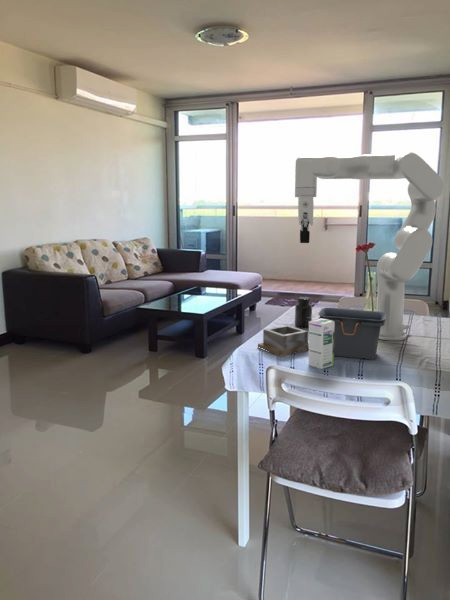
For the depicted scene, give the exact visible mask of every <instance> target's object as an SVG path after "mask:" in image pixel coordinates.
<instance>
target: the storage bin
mask: <svg viewBox="0 0 450 600" xmlns="http://www.w3.org/2000/svg"><path fill="white" fill-rule="evenodd" d="M317 315H318V316H319V317H318V319H321V318H322V319H329V320H332V321H334V322H335V327H334V357H341V358H343V357H345V358H352V359H361V358H366V359H365V360H369V359H373V360H375V359H376V357H377V356H376V355H377V351H378V345H379V340H380V339H379V334H380V328H381V326H383V325H384V323H385V319H386V313H384V312H377V310H363V309H353V308H352V309H350V308H337V307H323V308H321V310H319V312H318V314H317Z"/></svg>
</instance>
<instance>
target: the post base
mask: <svg viewBox="0 0 450 600" xmlns="http://www.w3.org/2000/svg"><path fill="white" fill-rule="evenodd" d="M262 331H263V336H262V337H263V338H262V340H263V342H260V343H257V348H258V347H260V348H263V349H265V350H267V351H269V352H270V354H272V355H275V356H277V357H282V356H287V355H288V356H289V355H291V354H295V352H297V353H300V352H299V351H301V352H304V351H303V350H306V351H309V350H308V349H309V330H304V329H303V328H298V327H296V326H292V325H289V324H286V325H279V326H275V327H270V328H269V327H268V328H263V330H262ZM260 348H259V349H260ZM265 350H264V351H265ZM267 351H266V352H267ZM269 352H268V353H269Z"/></svg>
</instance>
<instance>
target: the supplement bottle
mask: <svg viewBox="0 0 450 600" xmlns="http://www.w3.org/2000/svg"><path fill="white" fill-rule="evenodd" d="M310 300H311V298H310V297H307V296H299V297H298V298H297V304H295V307H294V327H296V328H299V329H309V321H313V320H312V317H313V306H312V305H311V304H310V303H311V301H310Z"/></svg>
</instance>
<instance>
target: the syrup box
mask: <svg viewBox="0 0 450 600" xmlns="http://www.w3.org/2000/svg"><path fill="white" fill-rule="evenodd" d="M334 327H335V322H334V321H332V320H329V319H322V318H321V319H319V318H318V319H314V320H312V321H309V328H308V343H309V350H308V366H311V367H313V368H316V369H319V370H323V369H326V368H329V367H333V366H335V356H334Z"/></svg>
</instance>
